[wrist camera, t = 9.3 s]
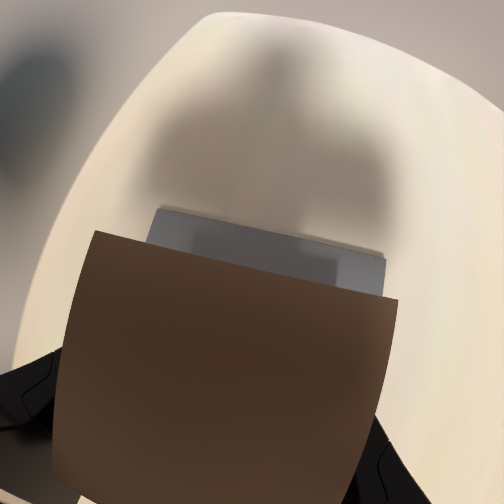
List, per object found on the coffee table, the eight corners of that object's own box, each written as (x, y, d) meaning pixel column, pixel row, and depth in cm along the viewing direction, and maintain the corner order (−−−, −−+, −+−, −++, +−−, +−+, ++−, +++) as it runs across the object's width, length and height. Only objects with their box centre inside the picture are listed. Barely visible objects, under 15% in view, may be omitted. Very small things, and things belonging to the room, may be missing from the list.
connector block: (273, 410, 14) (311, 555, 2) (187, 388, 14) (53, 477, 3) (294, 326, 15) (398, 300, 4) (207, 306, 16) (95, 230, 4)
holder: (330, 482, 14) (339, 497, 11) (105, 424, 15) (88, 433, 12) (384, 260, 18) (399, 250, 16) (159, 210, 19) (148, 195, 17)
